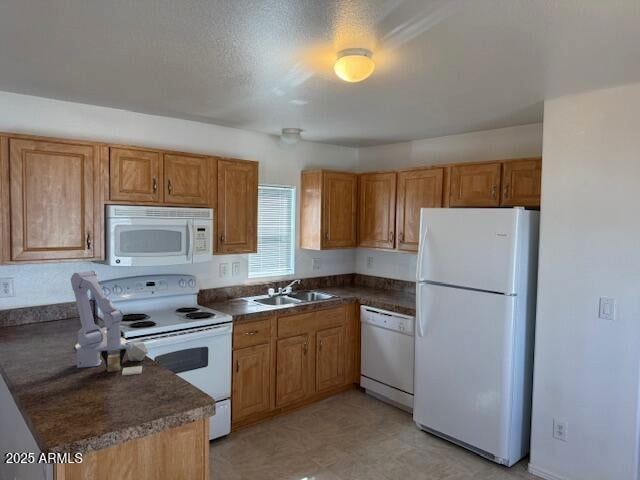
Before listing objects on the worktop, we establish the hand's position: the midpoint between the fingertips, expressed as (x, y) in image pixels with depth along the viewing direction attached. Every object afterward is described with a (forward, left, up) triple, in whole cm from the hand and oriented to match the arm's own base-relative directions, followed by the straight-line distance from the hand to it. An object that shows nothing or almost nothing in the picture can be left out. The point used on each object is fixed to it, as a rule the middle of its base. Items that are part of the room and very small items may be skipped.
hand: (114, 366), depth 204 cm
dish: (-11, +45, -2) cm, 46 cm away
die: (+9, +11, -2) cm, 14 cm away
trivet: (+8, -6, -1) cm, 10 cm away
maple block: (0, 0, -1) cm, 1 cm away
